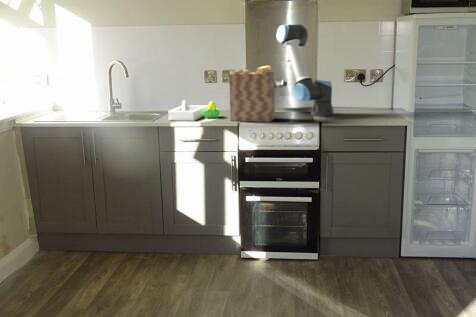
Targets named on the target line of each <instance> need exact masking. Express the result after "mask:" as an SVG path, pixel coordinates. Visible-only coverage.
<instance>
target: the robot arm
mask: <svg viewBox="0 0 476 317" xmlns="http://www.w3.org/2000/svg"><path fill="white" fill-rule="evenodd" d="M308 38H309V31H308V29H307V28H306V27H305V26H304V25H303V24H300V23H299V24H298V23H297V24H287V23H286V24H281V25H280V26H279V27H278V28H277V31H276V40H277V42H278V43H280V44H282V47H283V48H284V49H285V50H286V53H287V54H285V55H286V61H287V62H291V68H292V72H293V75H294V78H295V83H294V86H293V95H294V97H295V99H296V100H298V101H299V102H308V101H309V102H311V101H313V105H312V108H311V111H310V114H311V116H315V117H331V116H334V115H335V111H334V108H333V104H332V97H333V94H332V93H333V87H332V86H333V85H332V81H330V80H322V79H321V80H319V79H315V80H314V81H313V79H312V77H311V76H309V73H308V70H307V67H306V64H305V63H306V62H305V61H304V57H303V54H302V51H301V50H302V48H303V47H305V46H306V44H307V42H308ZM281 80H282V81H278V80H274V91H276V88H277V87H278V88H282V87H287V86H288V85H287V84H288V81H285V79H281Z"/></svg>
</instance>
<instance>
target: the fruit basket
mask: <svg viewBox="0 0 476 317" xmlns="http://www.w3.org/2000/svg"><path fill="white" fill-rule="evenodd" d="M202 111H203V115H204V116H203V117H204V119H214V118H215V119H217V118H219V116H220V112H221V110H220V109H219V108H217V105H216V103H215V101H213V100H212V101H210V102H209V103H208V105H207V109H206V110H202Z"/></svg>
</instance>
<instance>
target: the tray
mask: <svg viewBox="0 0 476 317" xmlns="http://www.w3.org/2000/svg"><path fill="white" fill-rule="evenodd" d="M185 107H186V106H185ZM189 107H190V110H191V111H187V108H186V111H183V110H182V105H181V106H179V107H176V108H173V109H171V110H168V111H167V112H168V114H167V115H168V121H175V122H176V121H179V122H181V121H182V122H183V121H185V122H194V121H196V120H197V121H198V119H201V118H203V117H204V115H203V111H202V110H206V109H208V105H189Z"/></svg>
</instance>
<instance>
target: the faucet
mask: <svg viewBox="0 0 476 317" xmlns="http://www.w3.org/2000/svg"><path fill="white" fill-rule="evenodd" d="M181 106H182V110H183V111H186V108H187V111H191V110H190V107H189V106H190V105H189V103H188V102H187V100H182V103H181ZM185 106H186V107H185Z"/></svg>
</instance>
